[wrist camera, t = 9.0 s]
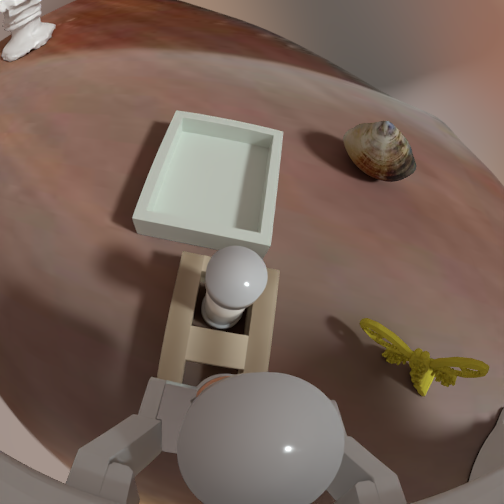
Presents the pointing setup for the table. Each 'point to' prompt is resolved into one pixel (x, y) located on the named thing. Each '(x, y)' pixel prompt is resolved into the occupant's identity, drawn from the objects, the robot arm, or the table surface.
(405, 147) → the seashell
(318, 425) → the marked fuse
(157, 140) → the table surface
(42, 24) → the bust
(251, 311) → the fuse block
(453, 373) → the decorative insect
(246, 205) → the tray
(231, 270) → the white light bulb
